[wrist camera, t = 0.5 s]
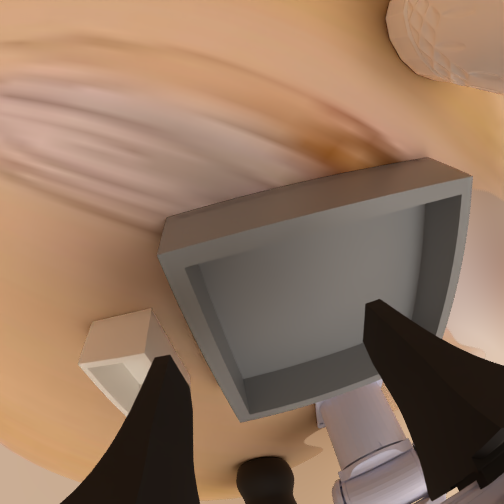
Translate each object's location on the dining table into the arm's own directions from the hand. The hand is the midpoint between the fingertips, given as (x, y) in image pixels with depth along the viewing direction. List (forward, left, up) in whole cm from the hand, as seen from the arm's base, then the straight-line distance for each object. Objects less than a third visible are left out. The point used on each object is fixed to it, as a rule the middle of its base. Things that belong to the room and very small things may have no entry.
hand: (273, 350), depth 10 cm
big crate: (-5, -5, -9) cm, 12 cm away
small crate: (-7, +10, -10) cm, 16 cm away
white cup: (+12, -15, -10) cm, 21 cm away
